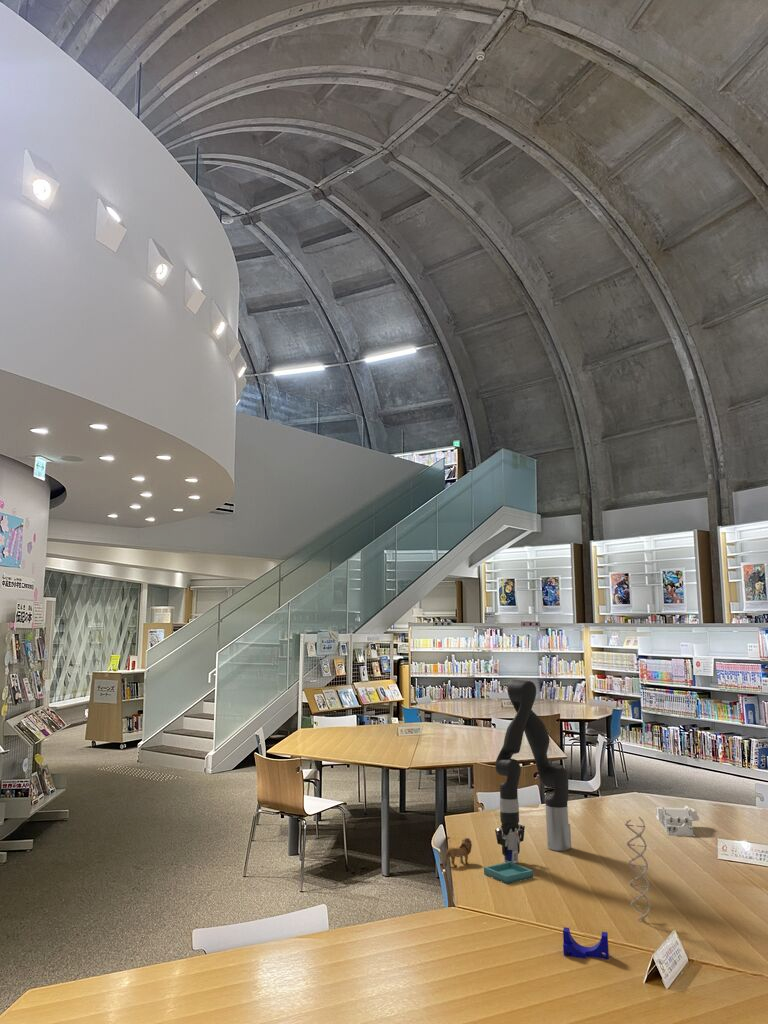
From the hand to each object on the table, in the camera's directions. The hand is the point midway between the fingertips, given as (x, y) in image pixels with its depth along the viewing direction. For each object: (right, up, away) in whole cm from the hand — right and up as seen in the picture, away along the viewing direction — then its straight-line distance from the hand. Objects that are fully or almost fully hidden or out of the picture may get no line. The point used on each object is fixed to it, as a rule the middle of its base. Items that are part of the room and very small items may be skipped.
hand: (511, 854), depth 282 cm
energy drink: (0, -3, -1) cm, 3 cm away
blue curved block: (+6, +12, -84) cm, 85 cm away
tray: (-4, 0, -17) cm, 17 cm away
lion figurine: (-21, -3, -2) cm, 22 cm away
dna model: (+31, +8, -58) cm, 66 cm away
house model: (+87, -11, +45) cm, 99 cm away
